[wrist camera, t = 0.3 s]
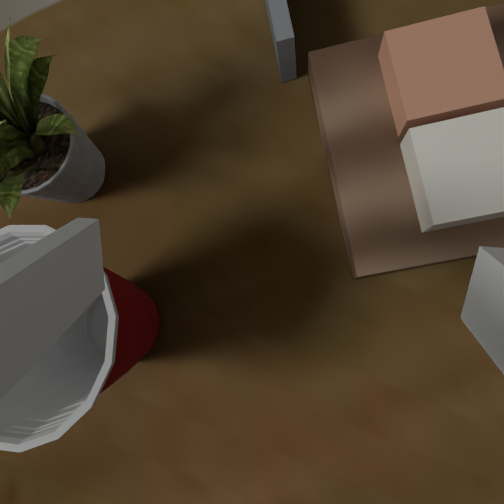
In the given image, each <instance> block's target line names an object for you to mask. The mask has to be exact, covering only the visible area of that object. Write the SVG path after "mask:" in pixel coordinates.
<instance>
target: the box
mask: <svg viewBox="0 0 504 504" xmlns="http://www.w3.org/2000/svg"><path fill="white" fill-rule="evenodd" d="M265 5H266V10H267V15H268V19H269V24H270V29H271V34H272V39H273V44H274V49H275V53H276V58H277V63H278V68H279V73H280V78H281V82H285V81H289V80H293V79H297V74H296V57H295V39H294V33H293V28H292V24H291V19H290V14H289V10H288V5H287V0H265Z"/></svg>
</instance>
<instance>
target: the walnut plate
mask: <svg viewBox="0 0 504 504" xmlns="http://www.w3.org/2000/svg"><path fill="white" fill-rule="evenodd" d="M486 12H487V15H488V18H489V22H490V25H491V29H492V32H493V35H494V39H495V42H496V45H497V49H498V52H499V55H500V59H501V62H502V65H503V69H504V3H501V4H498V5H494V6H490V7H486ZM383 35H384V33H382V34H378V35H374V36H370V37H367V38H363V39H359V40H355V41H351V42H347V43H343V44H339V45H335V46H331V47H327V48H323V49H319V50H315V51H311V52H308V77H309V82H310V86H311V91H312V95H313V100H314V104H315V109H316V114H317V118H318V123H319V127H320V132H321V137H322V141H323V146H324V150H325V155H326V160H327V164H328V169H329V173H330V178H331V182H332V187H333V192H334V196H335V201H336V205H337V210H338V215H339V219H340V224H341V228H342V233H343V238H344V242H345V247H346V251H347V256H348V260H349V265H350V270H351V274H352V279H353V280H354V279H360V278H365V277H370V276H376V275H381V274H386V273H392V272H397V271H402V270H408V269H413V268H419V267H424V266H429V265H435V264H440V263H445V262H451V261H456V260H461V259H467V258H472V257H477V254H478V250H479V246H484V247H498V248H504V217H500V218H495V219H489V220H484V221H479V222H474V223H469V224H464V225H459V226H454V227H449V228H444V229H438V230H433V231H428V232H423V233H422V231H421V227H420V223H419V219H418V215H417V211H416V207H415V203H414V199H413V195H412V191H411V187H410V183H409V179H408V175H407V171H406V167H405V163H404V159H403V155H402V151H401V147H400V144H401V142H402V140H403V138H404V137H405V136H403V137H398V134H397V130H396V126H395V122H394V118H393V114H392V110H391V106H390V102H389V98H388V94H387V90H386V86H385V82H384V78H383V74H382V70H381V66H380V62H379V58H378V53H379V50H380V46H381V42H382V39H383ZM503 107H504V106H503Z"/></svg>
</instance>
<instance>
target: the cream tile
mask: <svg viewBox="0 0 504 504" xmlns="http://www.w3.org/2000/svg"><path fill="white" fill-rule="evenodd" d="M400 147H401V151H402V155H403V159H404V163H405V167H406V171H407V175H408V179H409V183H410V187H411V191H412V195H413V199H414V203H415V207H416V211H417V215H418V219H419V223H420V227H421V231H422V233H423V232H428V231H433V230H438V229H444V228H449V227H454V226H459V225H464V224H469V223H474V222H479V221H484V220H489V219H495V218H500V217H504V107H502V108H498V109H493V110H489V111H485V112H480V113H476V114H471V115H467V116H462V117H458V118H453V119H449V120H445V121H440V122H436V123H431V124H427V125H422V126H418V127H413V128H409V130H408V131H407V133H406V135H405V137H404V138H403V140H402V142H401V144H400Z"/></svg>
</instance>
